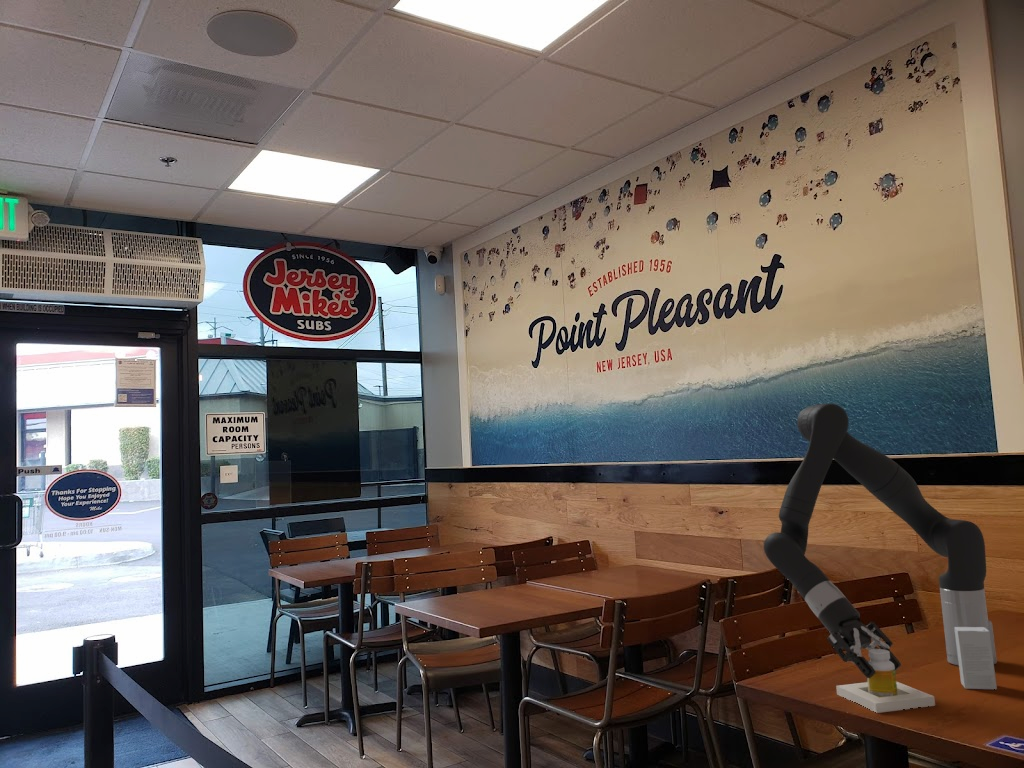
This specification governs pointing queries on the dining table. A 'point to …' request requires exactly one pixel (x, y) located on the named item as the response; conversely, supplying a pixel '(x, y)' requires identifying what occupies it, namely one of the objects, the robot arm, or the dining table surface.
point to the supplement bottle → (882, 674)
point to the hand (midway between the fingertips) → (885, 671)
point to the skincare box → (975, 658)
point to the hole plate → (903, 700)
